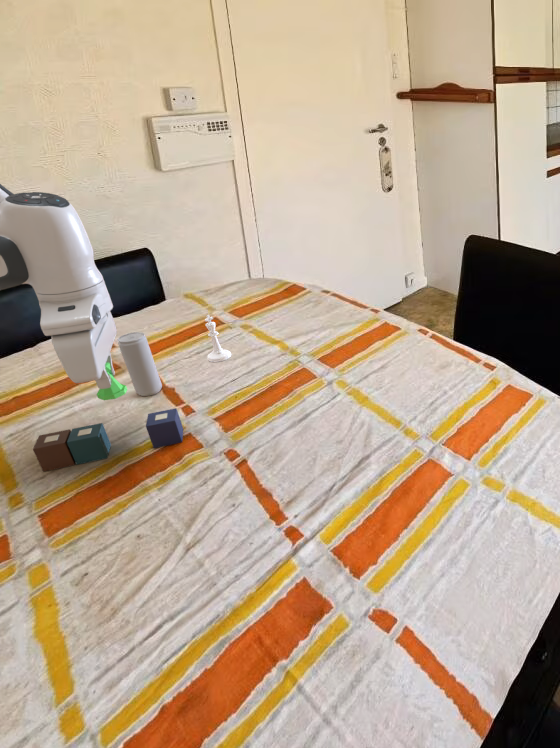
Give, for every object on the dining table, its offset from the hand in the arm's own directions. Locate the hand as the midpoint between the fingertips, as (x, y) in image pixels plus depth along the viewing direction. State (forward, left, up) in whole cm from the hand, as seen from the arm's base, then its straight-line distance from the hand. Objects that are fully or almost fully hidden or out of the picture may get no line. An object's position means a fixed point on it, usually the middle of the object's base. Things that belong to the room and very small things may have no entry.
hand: (107, 382), depth 102 cm
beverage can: (+1, +21, -13) cm, 25 cm away
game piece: (0, 0, -2) cm, 3 cm away
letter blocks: (-3, 0, -13) cm, 13 cm away
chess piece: (+14, +32, -13) cm, 37 cm away
